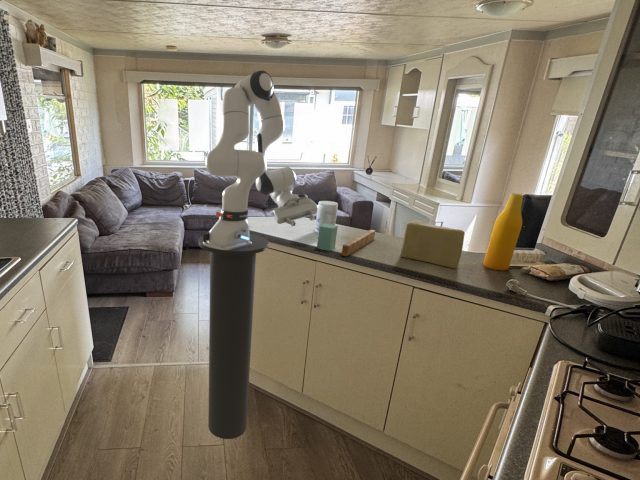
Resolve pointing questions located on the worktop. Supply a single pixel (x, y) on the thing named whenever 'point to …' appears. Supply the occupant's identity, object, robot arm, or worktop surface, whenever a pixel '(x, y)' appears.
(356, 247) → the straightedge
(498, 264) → the beer bottle
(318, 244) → the teal block
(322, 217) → the supplement tub
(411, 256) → the cheese
